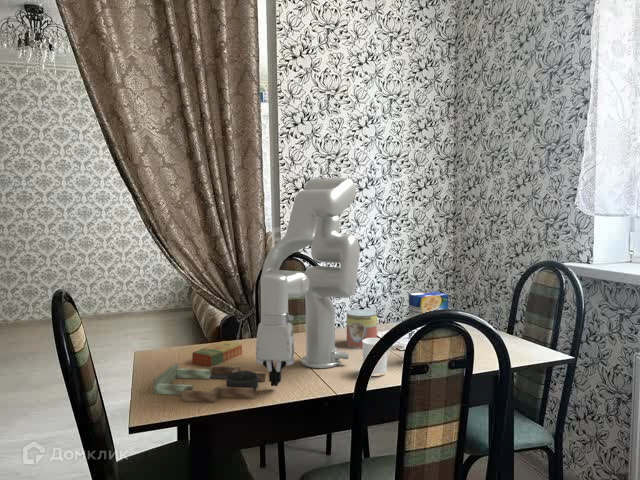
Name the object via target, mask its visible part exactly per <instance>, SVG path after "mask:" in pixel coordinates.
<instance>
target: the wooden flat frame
mask: <svg viewBox="0 0 640 480" xmlns="http://www.w3.org/2000/svg"><path fill="white" fill-rule="evenodd" d="M237 371H241V367H240V366H233V365H232V366H231V365H215V366H211V367H209V366H208V368H207V369H204V368H203V369H199V368H182V367H181V368H179V363H173V364H172V365H171V366H169V367H167V368H166V369H165V370H164V371H162V372H161V373H159V374H158V375H156V377H154V378H153V379H152V384H153V385H152V390H153V392H152V393H153V394H161V395H176V396H178V395H179V396H181V401H182V402H197V403H198V402H199V403H216V402H217V401H218V400H219V399H220V398H234V399H254V398H255V395H254V394H255V392H254V391H255V390H254V388H243V387H226V386H221V385H220V386H219V385H218V386H216V387H215V389H214V390H212V391H206V390H194V385H193V384H178V383H172V382H174V380H176V379H199V380H225V381H226V377H227V376H228V375H229V374H231V373H233V372H237ZM253 372H254V373H256V374H257V375H258V383H259V382H260V383H261V382H263V383H265V382H266V381H267V378H266V377H267V376H266V375H267V374H266V371H253Z"/></svg>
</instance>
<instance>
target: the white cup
mask: <svg viewBox="0 0 640 480" xmlns="http://www.w3.org/2000/svg"><path fill="white" fill-rule="evenodd" d="M379 340H380V337H377V338H367V339H364V340H362V348H363V349H362V361H363V362H364V360H365V358H366V357H367V355H368V354H369V352H370V351H371V349H372V348H373V346H374V345H375V344H376V343H377V342H378V341H379ZM388 353H389V350H388V351H387V352H386V353H385V354H384V355H383V357H382V358H381V360H380V361H379V363H378V364H377V366H376V368H375V370H374V372H373V374H374V373H384V372H386V373H387V365H388Z"/></svg>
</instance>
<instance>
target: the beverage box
mask: <svg viewBox="0 0 640 480" xmlns="http://www.w3.org/2000/svg"><path fill="white" fill-rule="evenodd" d="M442 309H448V310H449V294H447V293H443V292H439V291H427V292H416V293H408V319H409V318H411V317H414V316H416V315H419V314H422V313H425V312H429V311H433V310H442ZM414 332H415V331H413V332H411V333H409V332H408V339H409V338H410V337H411V336H412V334H413V333H414Z"/></svg>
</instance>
